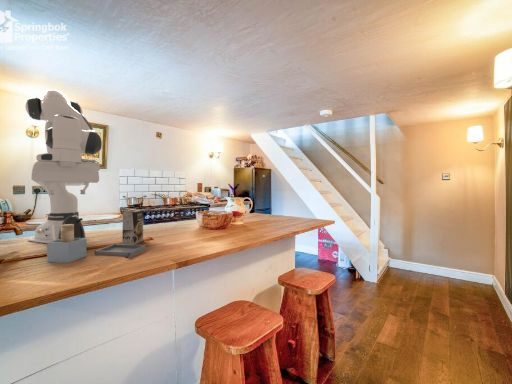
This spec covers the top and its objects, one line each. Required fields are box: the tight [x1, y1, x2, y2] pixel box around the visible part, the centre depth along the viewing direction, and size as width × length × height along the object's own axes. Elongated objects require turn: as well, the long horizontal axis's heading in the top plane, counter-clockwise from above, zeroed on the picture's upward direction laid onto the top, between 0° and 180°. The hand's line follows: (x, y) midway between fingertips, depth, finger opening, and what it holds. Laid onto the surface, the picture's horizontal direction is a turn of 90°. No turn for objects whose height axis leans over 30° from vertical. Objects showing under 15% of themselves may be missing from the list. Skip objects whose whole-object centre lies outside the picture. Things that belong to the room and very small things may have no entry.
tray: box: [94, 243, 147, 259], centre depth 105 cm, size 15×12×2 cm
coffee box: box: [121, 210, 144, 245], centre depth 123 cm, size 9×6×16 cm
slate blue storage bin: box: [46, 237, 87, 264], centre depth 93 cm, size 8×8×8 cm
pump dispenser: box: [57, 216, 87, 240], centre depth 108 cm, size 10×10×15 cm
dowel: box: [61, 224, 74, 243], centre depth 93 cm, size 4×4×13 cm
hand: (67, 194), depth 93 cm, fingers open, 8 cm apart
